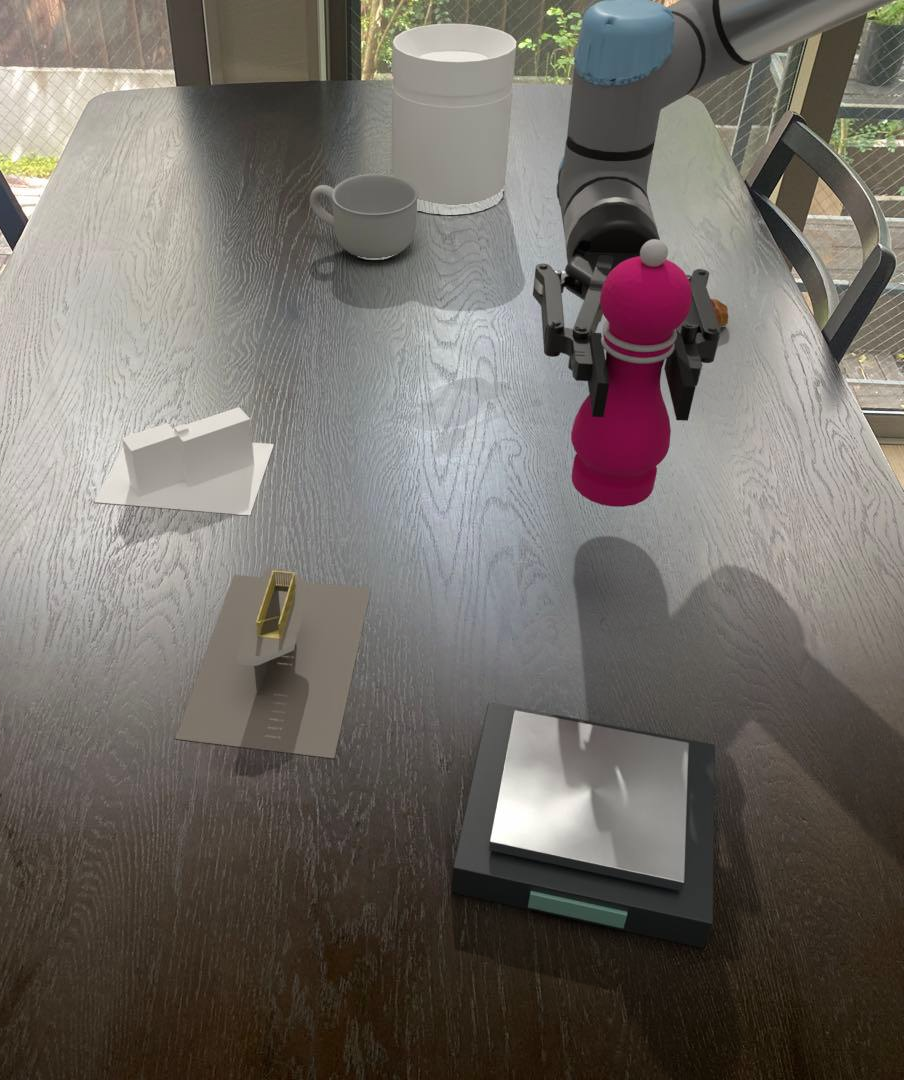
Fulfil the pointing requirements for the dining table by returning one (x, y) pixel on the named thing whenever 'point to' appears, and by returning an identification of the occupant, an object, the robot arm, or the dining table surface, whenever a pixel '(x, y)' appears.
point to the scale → (578, 889)
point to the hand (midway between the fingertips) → (643, 401)
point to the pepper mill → (631, 380)
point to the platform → (278, 666)
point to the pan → (594, 800)
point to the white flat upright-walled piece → (190, 466)
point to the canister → (452, 110)
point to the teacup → (370, 213)
